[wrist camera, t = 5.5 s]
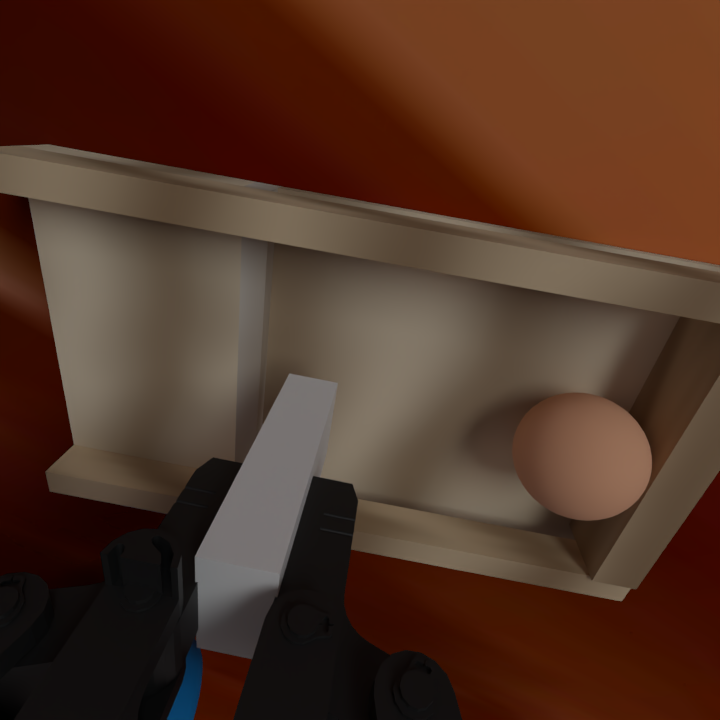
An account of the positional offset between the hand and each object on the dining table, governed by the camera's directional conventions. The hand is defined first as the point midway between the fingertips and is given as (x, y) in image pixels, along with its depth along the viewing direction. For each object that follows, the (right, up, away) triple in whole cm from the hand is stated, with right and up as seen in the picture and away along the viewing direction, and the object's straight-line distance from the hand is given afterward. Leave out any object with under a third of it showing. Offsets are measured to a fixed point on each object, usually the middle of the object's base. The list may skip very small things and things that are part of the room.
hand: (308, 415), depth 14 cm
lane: (+2, +1, +3) cm, 3 cm away
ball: (+9, -1, 0) cm, 9 cm away
